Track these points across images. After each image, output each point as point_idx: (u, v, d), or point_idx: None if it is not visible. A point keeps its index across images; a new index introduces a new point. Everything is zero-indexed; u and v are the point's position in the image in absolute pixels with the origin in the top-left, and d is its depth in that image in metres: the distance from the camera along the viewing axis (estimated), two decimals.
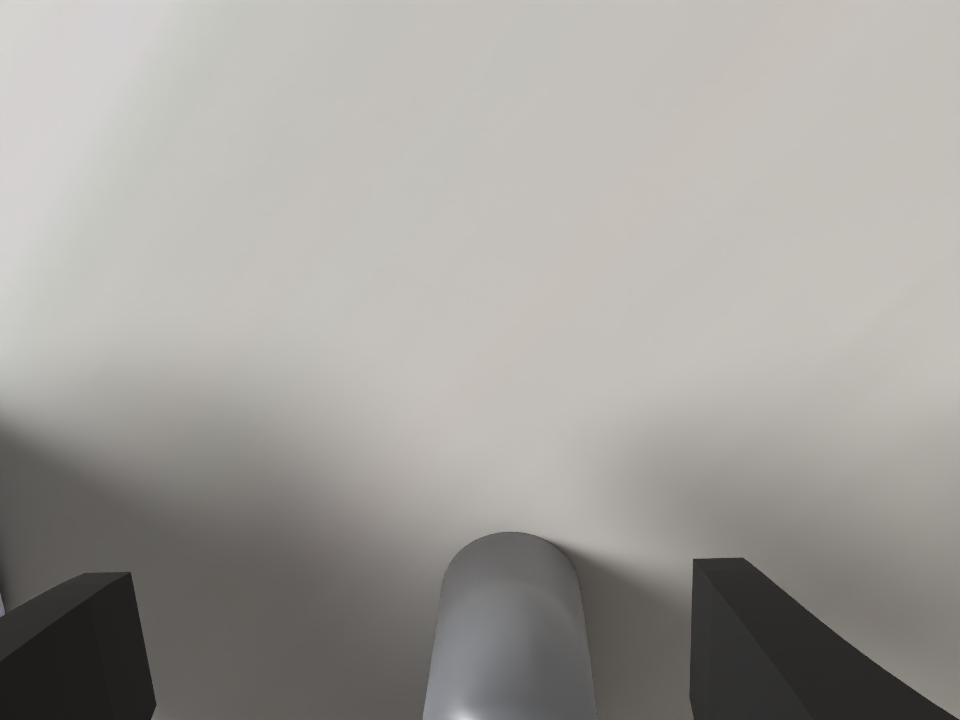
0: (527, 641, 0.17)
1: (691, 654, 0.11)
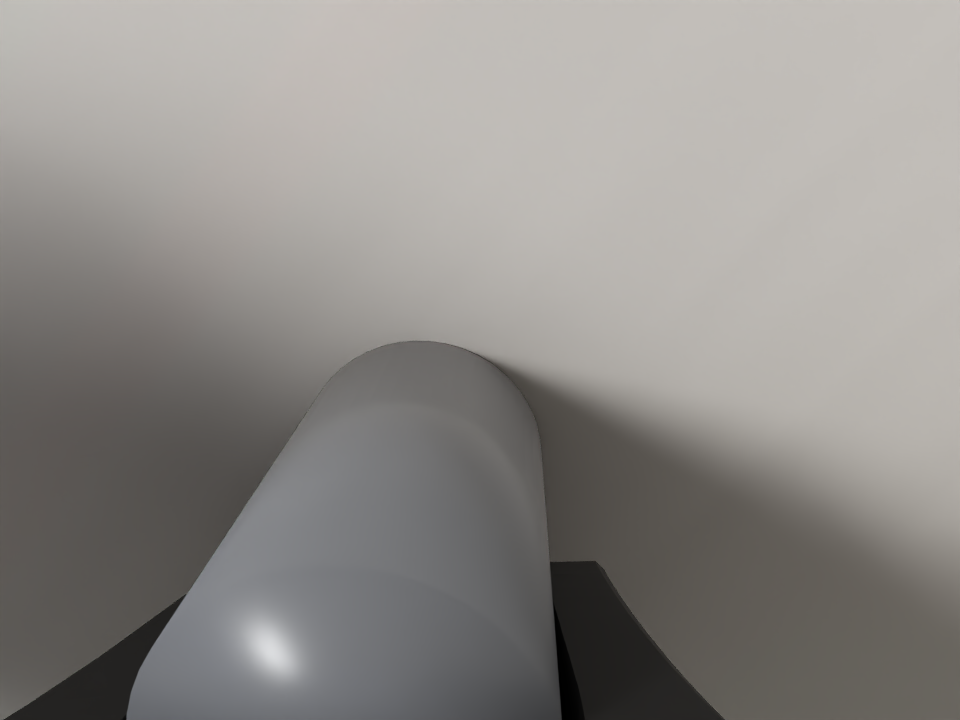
0: (405, 474, 0.08)
1: None
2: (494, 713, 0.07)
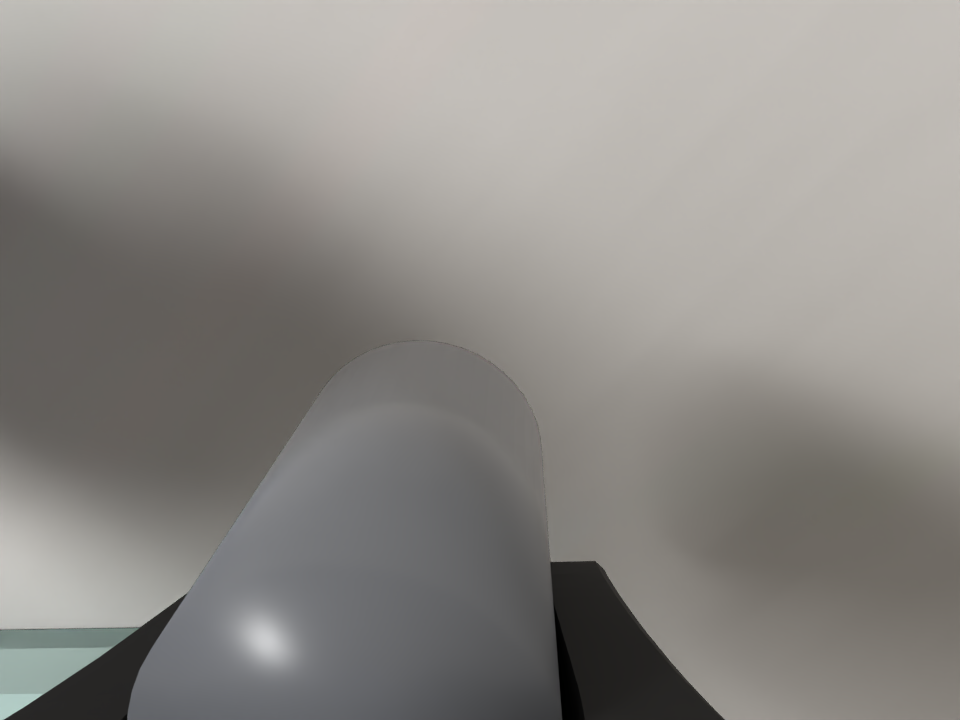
0: (406, 472, 0.08)
1: None
2: (495, 712, 0.07)
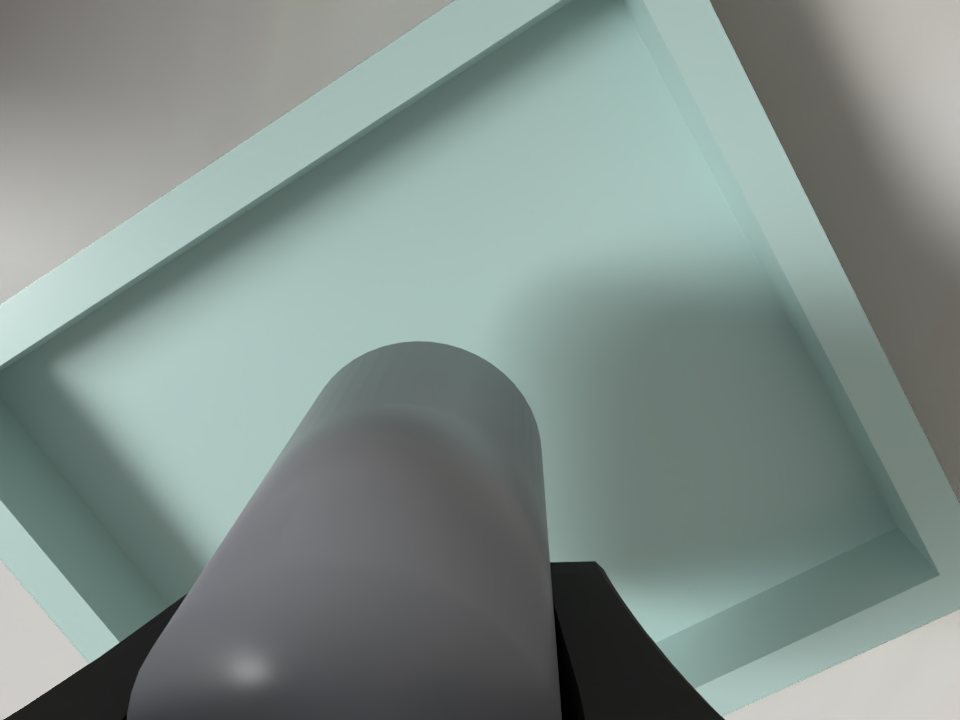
0: (405, 473, 0.08)
1: None
2: (494, 713, 0.07)
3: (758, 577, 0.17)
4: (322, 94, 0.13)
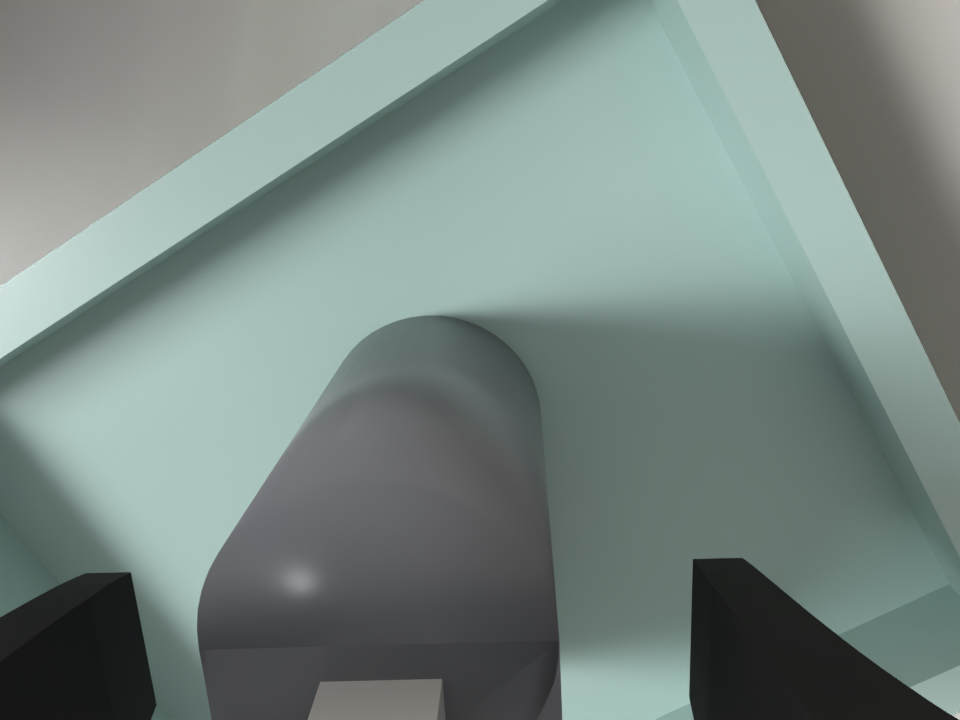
0: (423, 416, 0.09)
1: (690, 654, 0.11)
2: (501, 602, 0.08)
3: None
4: (292, 95, 0.11)
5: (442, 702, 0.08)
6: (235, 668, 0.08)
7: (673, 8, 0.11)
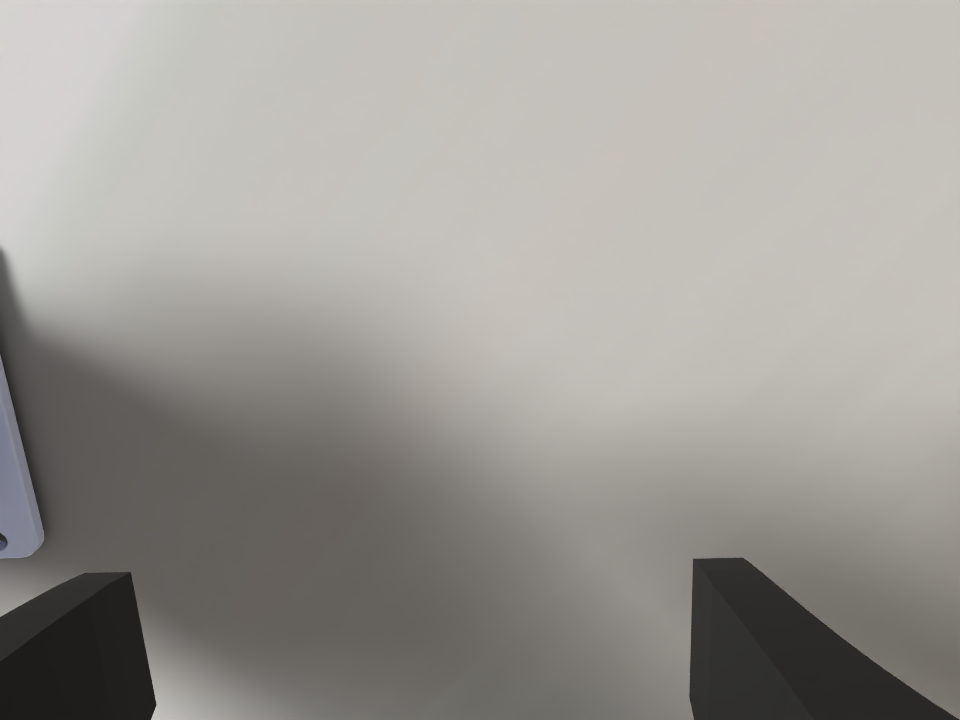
0: None
1: (691, 654, 0.11)
2: None
3: None
4: None
5: None
6: None
7: None
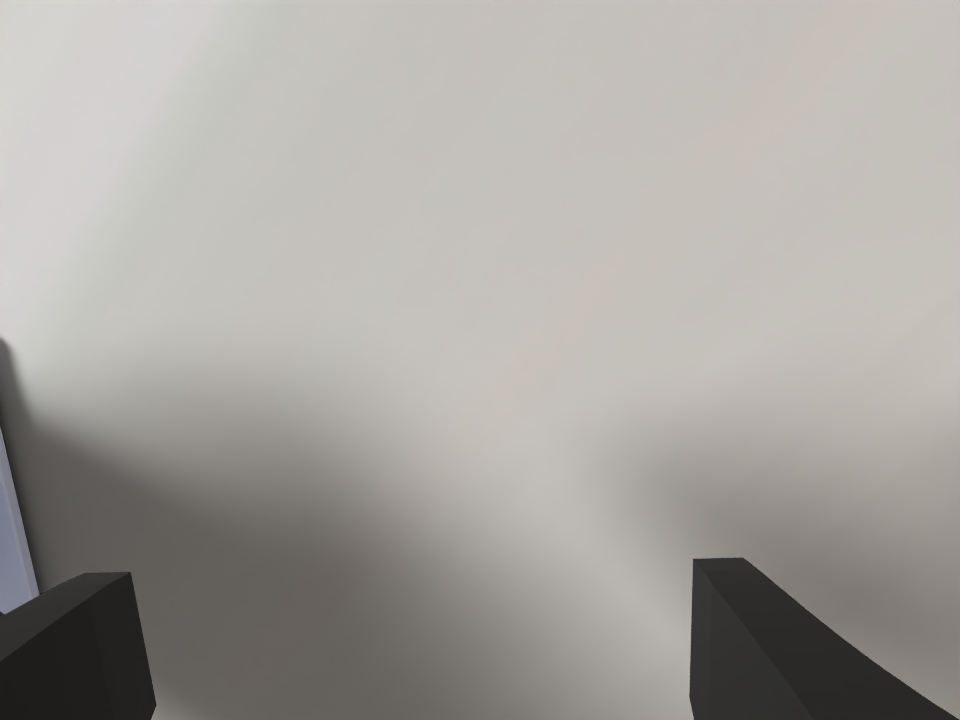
0: None
1: (691, 654, 0.11)
2: None
3: None
4: None
5: None
6: None
7: None
